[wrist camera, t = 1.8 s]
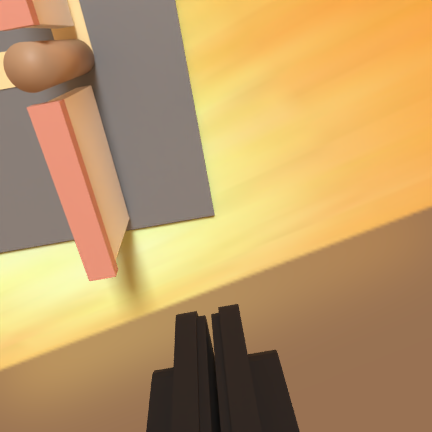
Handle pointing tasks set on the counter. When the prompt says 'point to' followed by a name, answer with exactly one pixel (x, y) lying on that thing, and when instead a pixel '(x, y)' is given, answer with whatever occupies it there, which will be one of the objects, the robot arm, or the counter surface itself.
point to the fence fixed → (42, 46)
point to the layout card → (109, 123)
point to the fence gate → (83, 177)
